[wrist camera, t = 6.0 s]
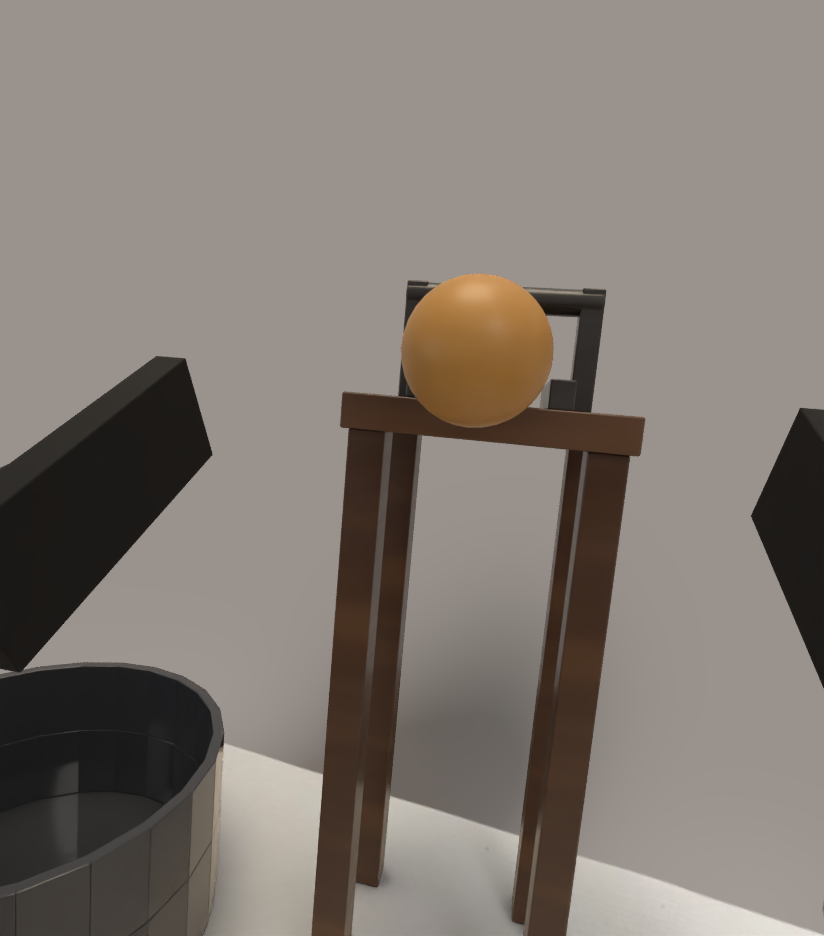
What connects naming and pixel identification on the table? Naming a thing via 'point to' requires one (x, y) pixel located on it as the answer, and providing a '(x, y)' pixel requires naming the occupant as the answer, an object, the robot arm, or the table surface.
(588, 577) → the shelf stand
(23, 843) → the pot
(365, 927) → the table surface
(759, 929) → the table surface
